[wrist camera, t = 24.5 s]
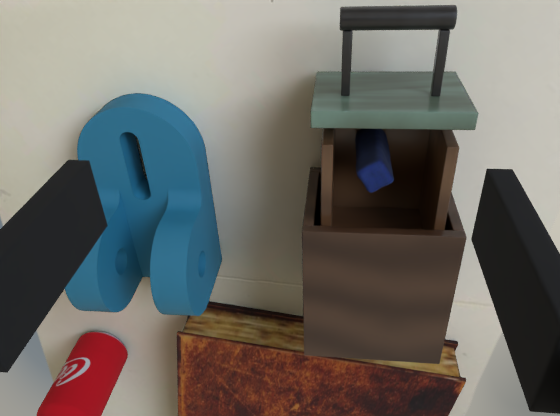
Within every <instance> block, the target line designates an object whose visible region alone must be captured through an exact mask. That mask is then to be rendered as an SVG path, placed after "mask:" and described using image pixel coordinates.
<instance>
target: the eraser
mask: <svg viewBox="0 0 560 416" xmlns="http://www.w3.org/2000/svg"><path fill="white" fill-rule="evenodd" d="M355 144H356V147H355V149H356V173H357V176H358V178H359V179H360V180H361V181H362V183H363V184H364V186H365V188H366V190H367V191H368V192H370V193H373V192H375V191H377V190H378V189H380V188H382V187H384V186H386V185H389V184H391V183H392V182H393V181H394V177H393V171H392V167H391V160H390V158H391V157H390V151H389V145H388V141H387V136H386V134H385V132H384V131H383V130H382V129H361V130H359V131H358V132H357V133H356V138H355Z"/></svg>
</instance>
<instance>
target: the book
mask: <svg viewBox="0 0 560 416" xmlns="http://www.w3.org/2000/svg"><path fill="white" fill-rule="evenodd" d="M457 346H458V342H457V341H451V340H444V345H443V350H442V354H441V359H440V364H430V363H415V362H399V361H384V360H369V359H353V358H338V357H323V356H307V355H304V317H302V316H295V315H289V314H283V313H277V312H270V311H264V310H258V309H252V308H245V307H239V306H233V305H227V304H220V303H214V302H208V305H207V307H206V309H205V311H204V312H203V313H202V314H201V315H200V316H190V315H189V316H188V318H187V321H186V324H185V327H184V330H183V332H179V331H178V332H177V370H178V416H448V415H449V413H450V411H451V409H452V407H453V405H454V404H455V402H456V400H457V398H458V396H459V394H460V392H461V390H462V388H463V386H464V384H465V382H466V378H462V377H460V373H459V369H458V364H457V360H456V355H455V350H456V348H457Z"/></svg>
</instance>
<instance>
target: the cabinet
mask: <svg viewBox="0 0 560 416" xmlns="http://www.w3.org/2000/svg"><path fill="white" fill-rule="evenodd" d="M465 242H466V234H465V231H464V229H463V226H462V223H461V220H460V217H459V214H458V211H457V208H456V205H455V201H454V198H453V195H452V192H451V196H450V202H449V207H448V213H447V218H446V224H445V229H444V230H424V229H396V228H367V227H339V226H321V168H310V174H309V182H308V190H307V197H306V205H305V213H304V221H303V229H302V252H303V315H304V355H307V356H323V357H338V358H353V359H369V360H384V361H399V362H415V363H430V364H440V359H441V354H442V350H443V345H444V340H445V336H446V331H447V326H448V322H449V317H450V312H451V308H452V303H453V298H454V294H455V289H456V284H457V280H458V275H459V270H460V266H461V261H462V256H463V252H464V247H465Z"/></svg>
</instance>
